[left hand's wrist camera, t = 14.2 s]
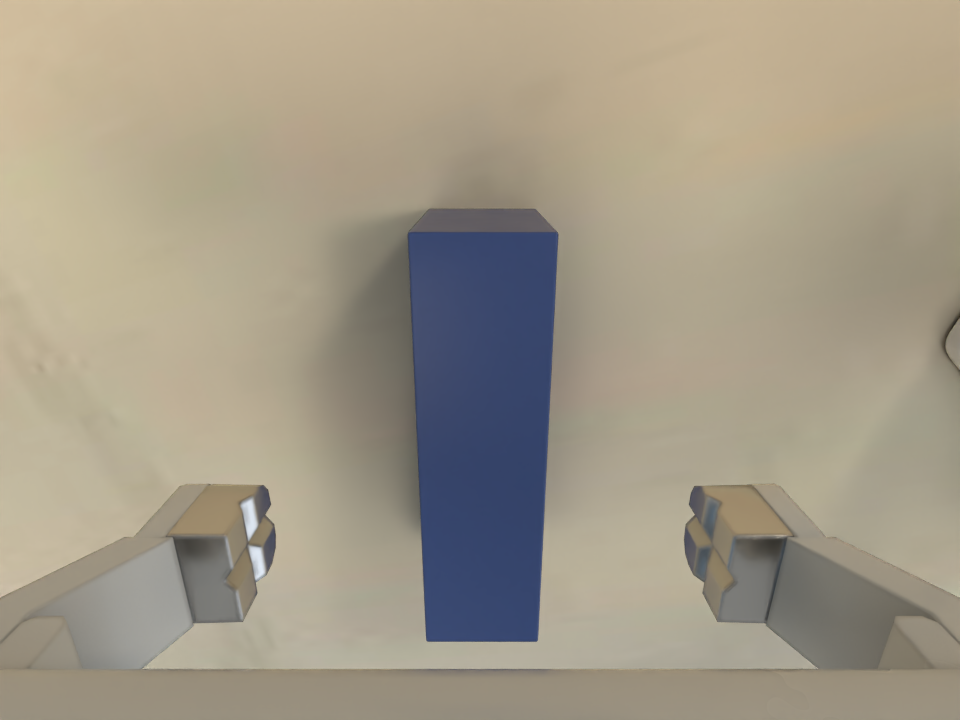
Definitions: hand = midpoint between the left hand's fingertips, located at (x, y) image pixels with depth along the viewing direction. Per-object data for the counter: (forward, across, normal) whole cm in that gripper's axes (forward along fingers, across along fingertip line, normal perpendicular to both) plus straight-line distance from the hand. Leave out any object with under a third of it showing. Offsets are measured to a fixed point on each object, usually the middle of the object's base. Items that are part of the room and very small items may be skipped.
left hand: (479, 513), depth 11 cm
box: (+23, 0, -7) cm, 24 cm away
